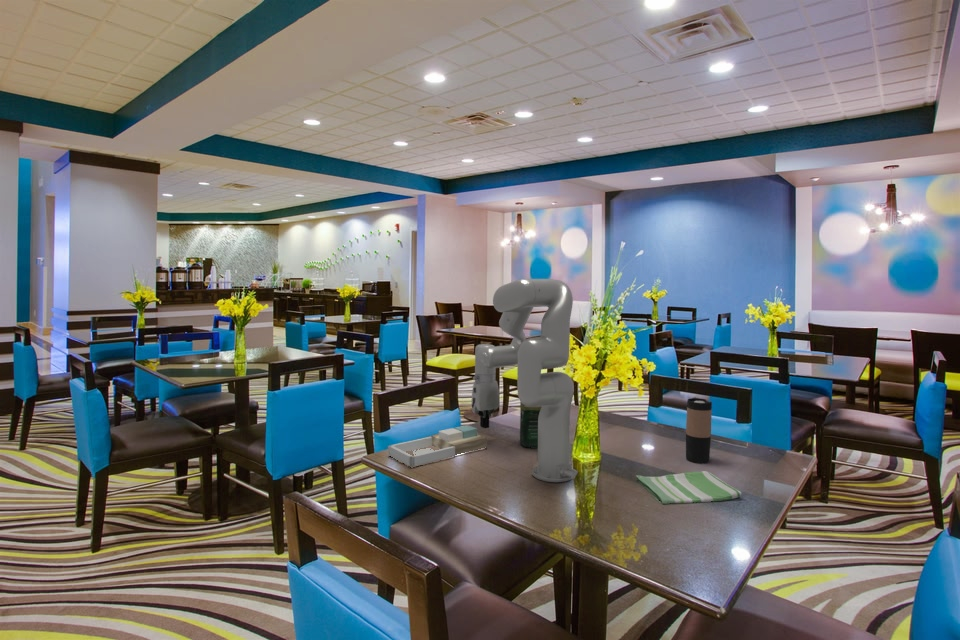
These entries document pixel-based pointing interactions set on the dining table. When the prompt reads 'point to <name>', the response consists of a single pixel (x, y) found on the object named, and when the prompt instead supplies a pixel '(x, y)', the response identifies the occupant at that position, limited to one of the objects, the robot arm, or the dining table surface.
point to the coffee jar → (529, 425)
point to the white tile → (450, 435)
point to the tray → (419, 452)
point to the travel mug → (698, 430)
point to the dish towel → (688, 488)
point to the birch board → (461, 443)
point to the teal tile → (467, 431)
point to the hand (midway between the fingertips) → (484, 427)
